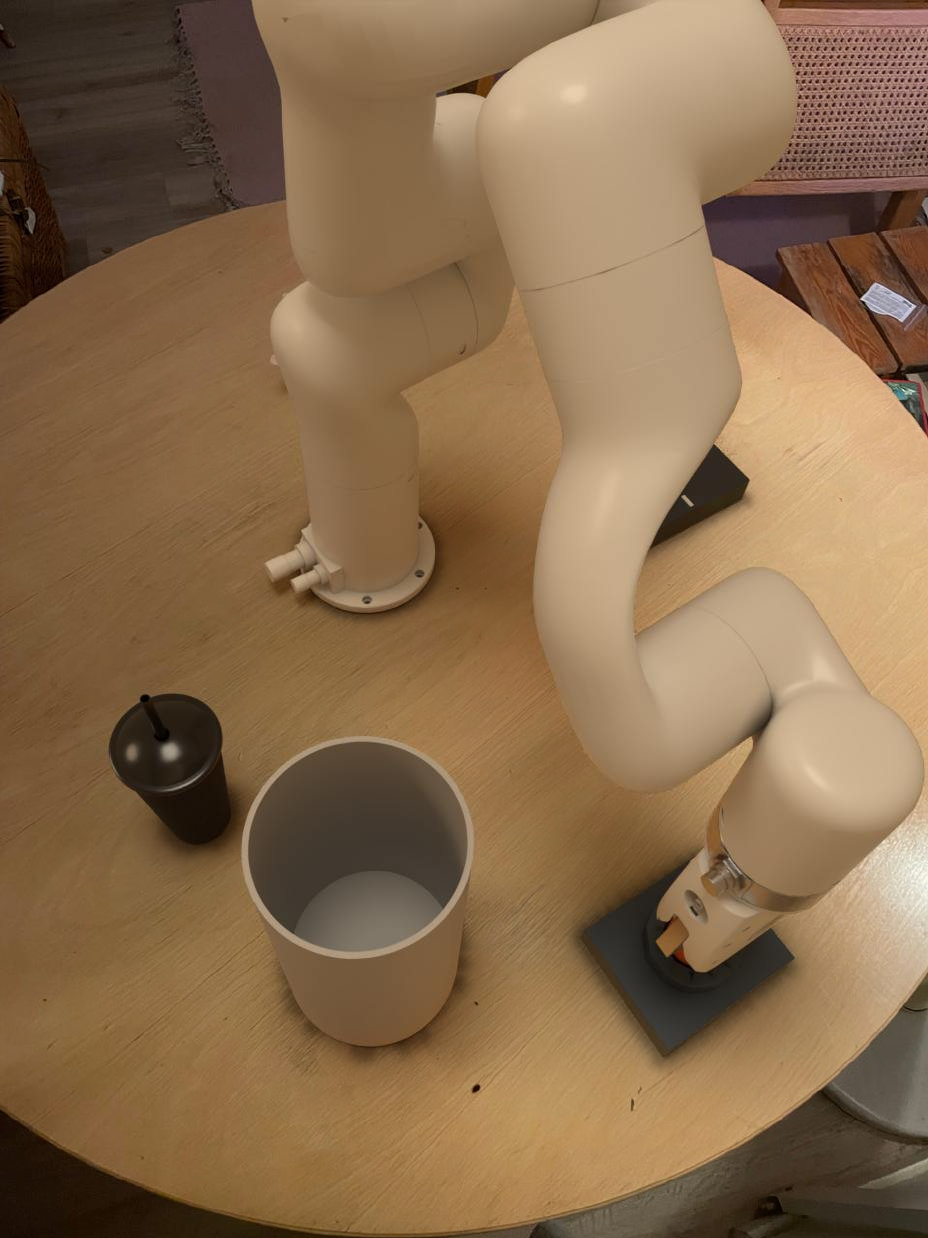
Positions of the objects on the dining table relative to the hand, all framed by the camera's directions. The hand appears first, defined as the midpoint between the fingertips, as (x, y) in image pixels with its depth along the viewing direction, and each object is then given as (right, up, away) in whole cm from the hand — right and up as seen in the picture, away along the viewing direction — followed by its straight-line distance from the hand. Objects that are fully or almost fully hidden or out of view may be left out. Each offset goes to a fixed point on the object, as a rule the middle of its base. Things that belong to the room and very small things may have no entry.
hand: (702, 933), depth 74 cm
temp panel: (+2, +35, +29) cm, 45 cm away
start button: (0, -1, +2) cm, 2 cm away
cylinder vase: (-24, -3, +4) cm, 24 cm away
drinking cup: (-38, +6, +9) cm, 39 cm away
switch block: (0, -3, +5) cm, 6 cm away
